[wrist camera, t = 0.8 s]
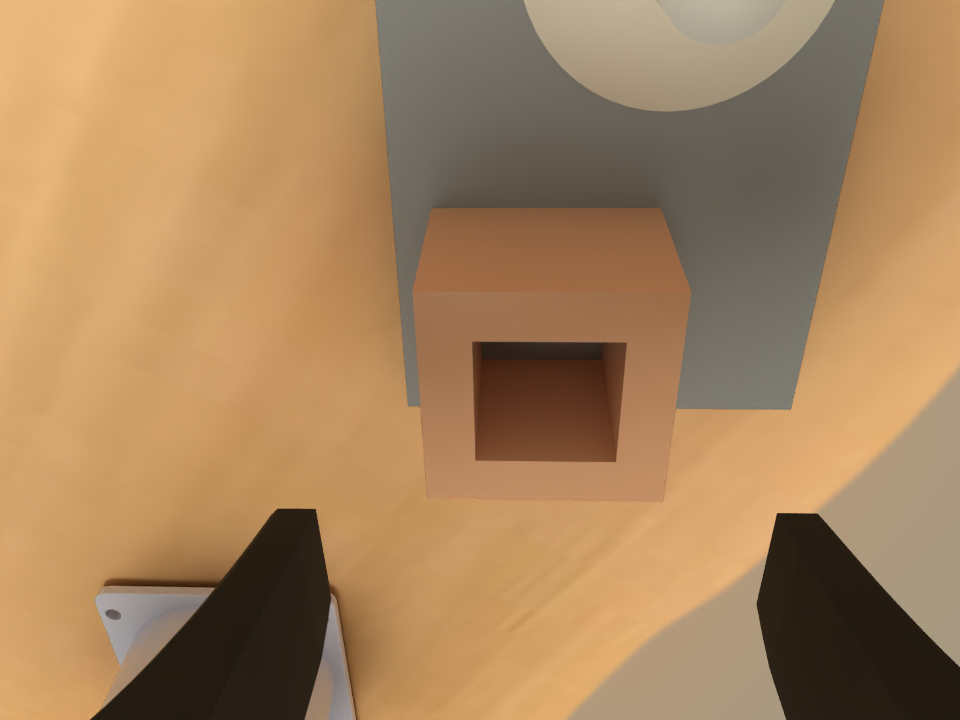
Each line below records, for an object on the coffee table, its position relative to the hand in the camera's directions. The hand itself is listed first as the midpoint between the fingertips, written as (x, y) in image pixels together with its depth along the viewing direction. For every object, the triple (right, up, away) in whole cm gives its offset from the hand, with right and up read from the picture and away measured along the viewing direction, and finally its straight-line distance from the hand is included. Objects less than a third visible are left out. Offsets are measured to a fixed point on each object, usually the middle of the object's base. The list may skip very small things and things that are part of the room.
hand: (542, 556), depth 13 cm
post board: (+2, +8, +6) cm, 10 cm away
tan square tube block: (+1, +4, +7) cm, 8 cm away
